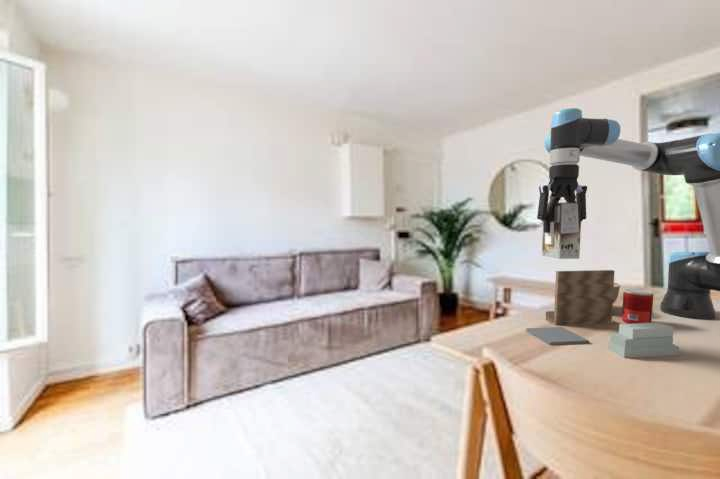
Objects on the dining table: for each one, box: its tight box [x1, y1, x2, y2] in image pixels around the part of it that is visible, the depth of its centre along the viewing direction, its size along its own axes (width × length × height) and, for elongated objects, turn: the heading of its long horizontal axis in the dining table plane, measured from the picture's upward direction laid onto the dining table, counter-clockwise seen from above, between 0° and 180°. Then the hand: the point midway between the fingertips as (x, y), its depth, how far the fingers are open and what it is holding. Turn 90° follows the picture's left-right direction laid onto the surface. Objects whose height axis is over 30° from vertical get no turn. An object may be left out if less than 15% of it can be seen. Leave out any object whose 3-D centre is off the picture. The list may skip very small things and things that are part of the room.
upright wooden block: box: [545, 269, 615, 326], centre depth 122 cm, size 20×6×18 cm, turn 96°
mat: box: [525, 326, 590, 346], centre depth 108 cm, size 12×12×1 cm
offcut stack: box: [608, 322, 680, 359], centre depth 96 cm, size 16×5×8 cm, turn 97°
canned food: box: [621, 288, 654, 324], centre depth 121 cm, size 8×8×11 cm
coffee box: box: [541, 202, 582, 260], centre depth 105 cm, size 9×6×16 cm
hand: (560, 243), depth 106 cm, fingers closed on coffee box, 6 cm apart
